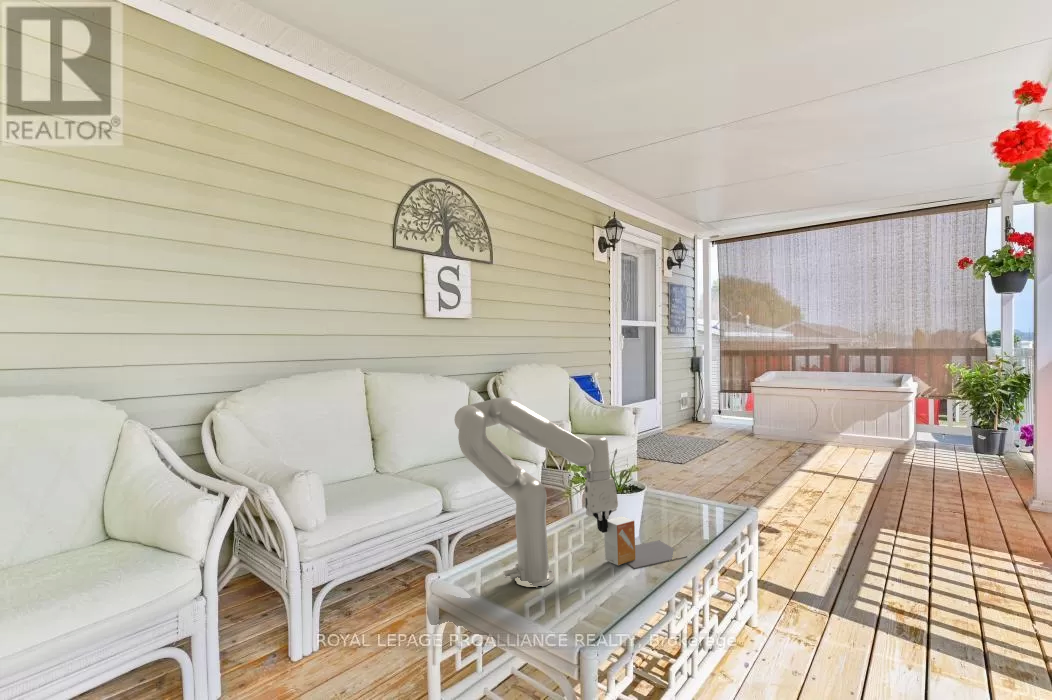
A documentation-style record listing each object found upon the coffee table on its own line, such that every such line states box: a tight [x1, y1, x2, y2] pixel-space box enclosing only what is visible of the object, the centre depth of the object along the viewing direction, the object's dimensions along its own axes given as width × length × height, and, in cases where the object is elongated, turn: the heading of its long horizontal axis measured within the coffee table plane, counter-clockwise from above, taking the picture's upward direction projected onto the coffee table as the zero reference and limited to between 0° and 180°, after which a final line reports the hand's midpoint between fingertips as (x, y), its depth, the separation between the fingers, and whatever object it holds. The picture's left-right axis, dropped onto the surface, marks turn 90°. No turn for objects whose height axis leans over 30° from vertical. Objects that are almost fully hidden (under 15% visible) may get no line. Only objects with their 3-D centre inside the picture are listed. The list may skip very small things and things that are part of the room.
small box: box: [604, 516, 636, 566], centre depth 168 cm, size 8×6×13 cm
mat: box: [626, 540, 675, 570], centre depth 172 cm, size 20×16×1 cm
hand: (602, 531), depth 166 cm, fingers closed
